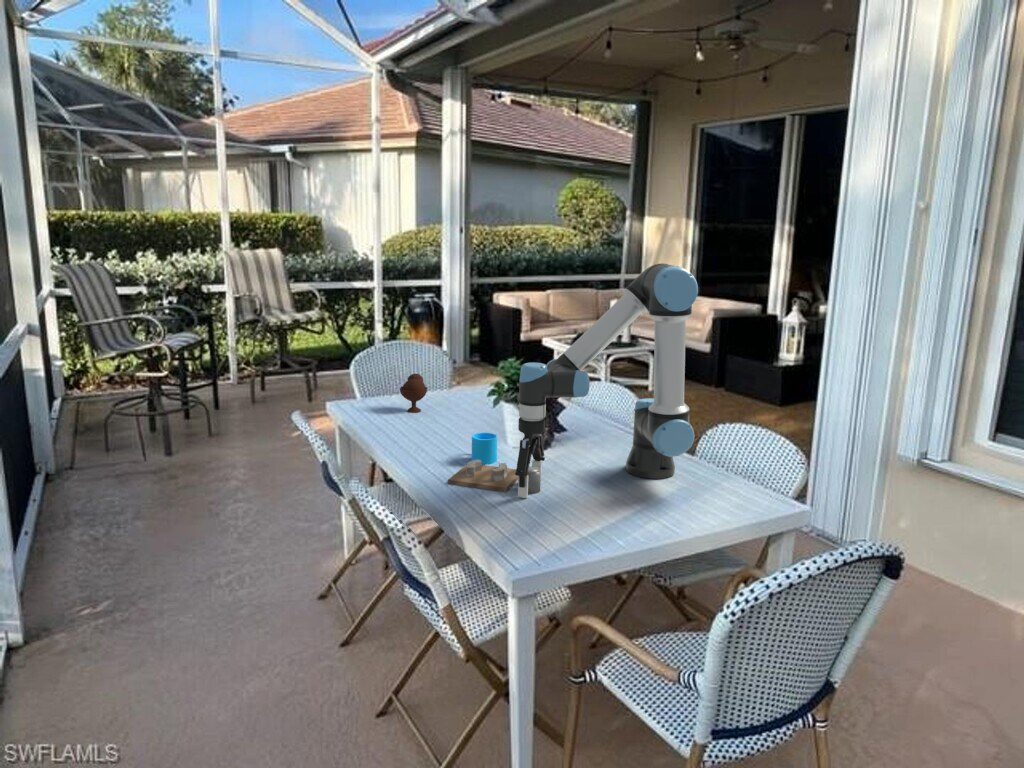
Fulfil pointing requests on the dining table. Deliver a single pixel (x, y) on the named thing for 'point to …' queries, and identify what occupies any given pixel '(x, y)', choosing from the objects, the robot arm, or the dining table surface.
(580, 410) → the dining table surface
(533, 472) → the cap
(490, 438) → the mug
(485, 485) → the board
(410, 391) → the ice cream bowl
